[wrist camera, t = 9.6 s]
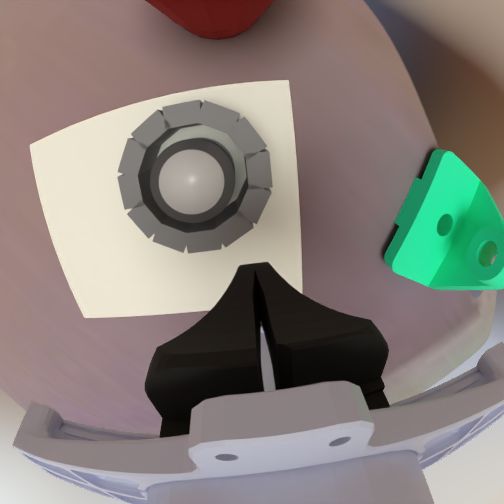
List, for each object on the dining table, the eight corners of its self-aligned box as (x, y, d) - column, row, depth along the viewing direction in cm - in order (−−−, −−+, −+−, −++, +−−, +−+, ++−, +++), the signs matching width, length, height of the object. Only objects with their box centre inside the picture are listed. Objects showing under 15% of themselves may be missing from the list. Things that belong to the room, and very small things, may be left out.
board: (300, 293, 24) (311, 323, 21) (87, 313, 24) (71, 339, 20) (286, 81, 17) (299, 70, 13) (34, 143, 17) (4, 151, 13)
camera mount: (428, 143, 19) (514, 165, 10) (470, 181, 21) (542, 214, 11) (375, 256, 24) (435, 325, 14) (423, 277, 25) (478, 336, 16)
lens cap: (237, 202, 20) (237, 220, 16) (170, 208, 20) (155, 227, 16) (232, 134, 18) (232, 134, 14) (162, 142, 17) (144, 145, 14)
